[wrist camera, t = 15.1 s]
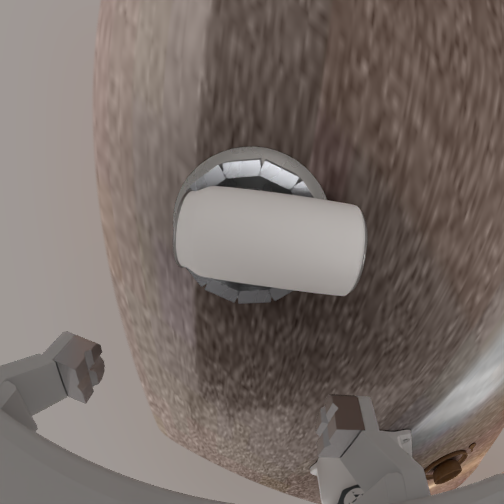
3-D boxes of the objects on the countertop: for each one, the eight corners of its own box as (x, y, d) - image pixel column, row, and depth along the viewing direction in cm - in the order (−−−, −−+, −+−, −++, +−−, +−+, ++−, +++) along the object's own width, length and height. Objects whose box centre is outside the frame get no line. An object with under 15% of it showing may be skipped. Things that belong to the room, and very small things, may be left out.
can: (342, 312, 21) (181, 289, 22) (341, 243, 25) (202, 224, 25) (373, 262, 16) (162, 233, 16) (363, 187, 19) (193, 164, 20)
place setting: (412, 483, 47) (416, 501, 42) (399, 461, 42) (404, 484, 36) (474, 452, 43) (480, 469, 37) (475, 421, 37) (485, 442, 32)
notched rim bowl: (356, 246, 27) (366, 260, 23) (234, 317, 30) (230, 336, 27) (272, 115, 23) (271, 111, 20) (147, 207, 27) (132, 215, 24)
